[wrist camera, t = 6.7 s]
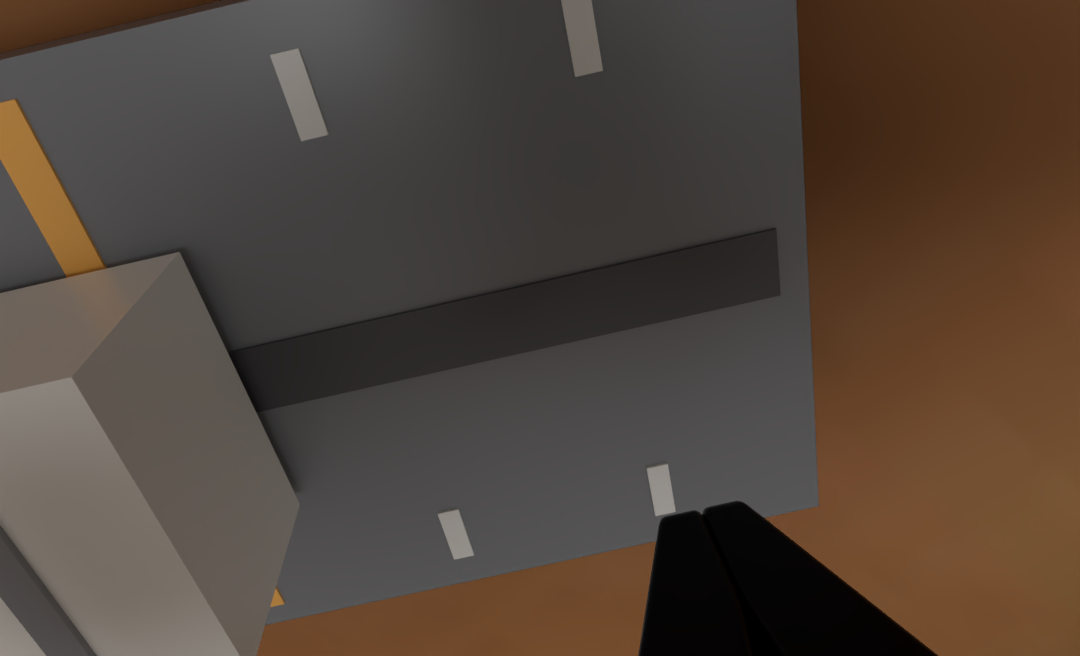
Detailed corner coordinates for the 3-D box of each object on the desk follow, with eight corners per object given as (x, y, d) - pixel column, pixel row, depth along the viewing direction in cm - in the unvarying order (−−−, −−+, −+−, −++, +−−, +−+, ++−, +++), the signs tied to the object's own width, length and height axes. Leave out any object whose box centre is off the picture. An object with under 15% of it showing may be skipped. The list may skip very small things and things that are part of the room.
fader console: (723, -121, 13) (792, -130, 10) (766, 418, 18) (820, 507, 15) (-318, 130, 13) (-523, 185, 10) (23, 580, 18) (-54, 695, 16)
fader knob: (179, 251, 11) (67, 382, 8) (300, 503, 14) (248, 680, 11) (-78, 311, 11) (-288, 462, 8) (85, 551, 14) (-29, 740, 11)
